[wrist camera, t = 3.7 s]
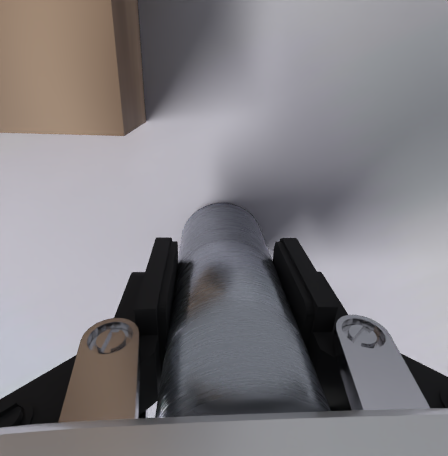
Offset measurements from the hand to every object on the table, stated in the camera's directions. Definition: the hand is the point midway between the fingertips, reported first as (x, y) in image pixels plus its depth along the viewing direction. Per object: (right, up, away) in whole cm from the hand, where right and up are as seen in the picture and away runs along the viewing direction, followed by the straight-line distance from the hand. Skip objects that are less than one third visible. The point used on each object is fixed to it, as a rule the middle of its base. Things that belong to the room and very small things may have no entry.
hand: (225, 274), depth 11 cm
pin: (0, +1, +3) cm, 3 cm away
